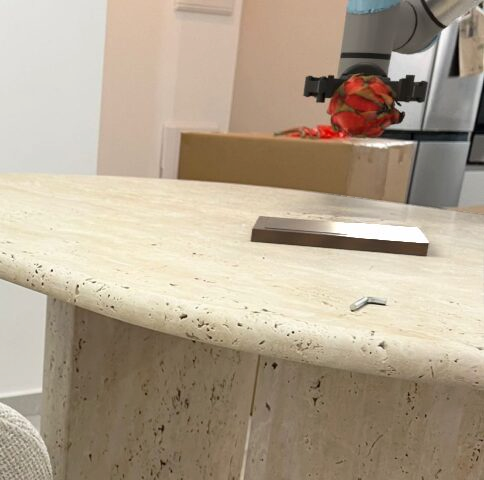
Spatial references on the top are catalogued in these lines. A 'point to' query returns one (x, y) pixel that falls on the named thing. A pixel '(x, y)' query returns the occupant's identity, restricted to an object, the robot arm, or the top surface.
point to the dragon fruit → (364, 107)
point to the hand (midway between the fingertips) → (366, 88)
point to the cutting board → (340, 235)
